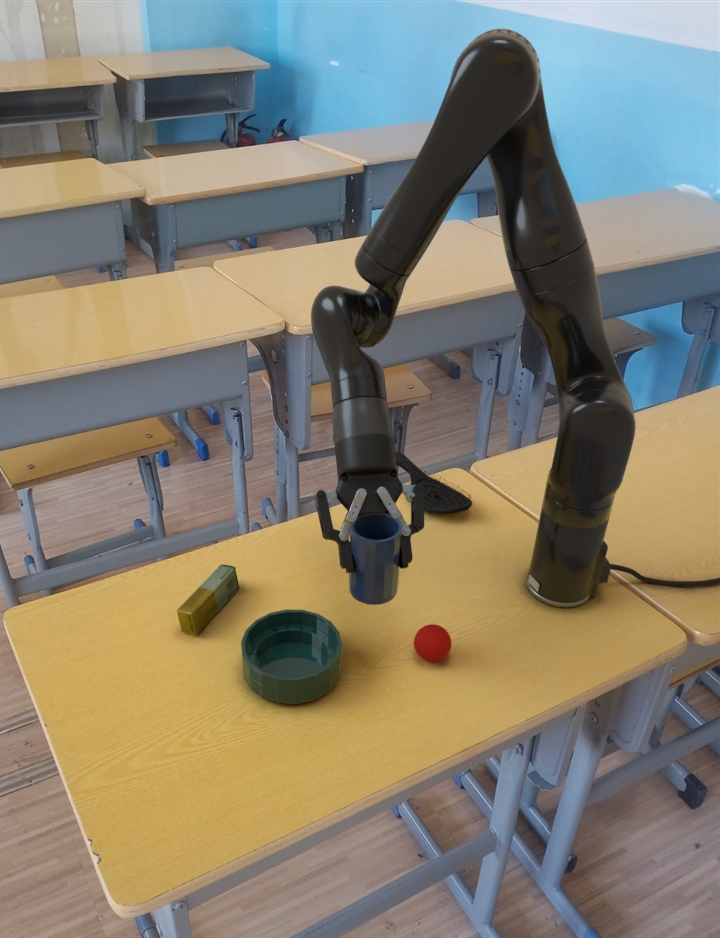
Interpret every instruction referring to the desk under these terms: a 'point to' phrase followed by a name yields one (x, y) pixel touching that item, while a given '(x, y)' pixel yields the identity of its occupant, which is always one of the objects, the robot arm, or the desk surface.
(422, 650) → the ball
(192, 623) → the medication box
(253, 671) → the bowl
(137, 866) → the desk surface
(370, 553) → the pencil cup
